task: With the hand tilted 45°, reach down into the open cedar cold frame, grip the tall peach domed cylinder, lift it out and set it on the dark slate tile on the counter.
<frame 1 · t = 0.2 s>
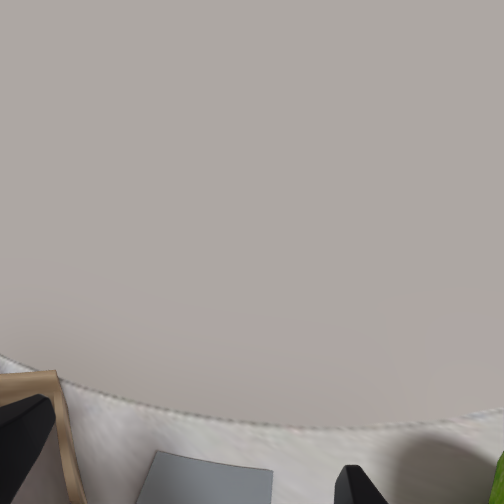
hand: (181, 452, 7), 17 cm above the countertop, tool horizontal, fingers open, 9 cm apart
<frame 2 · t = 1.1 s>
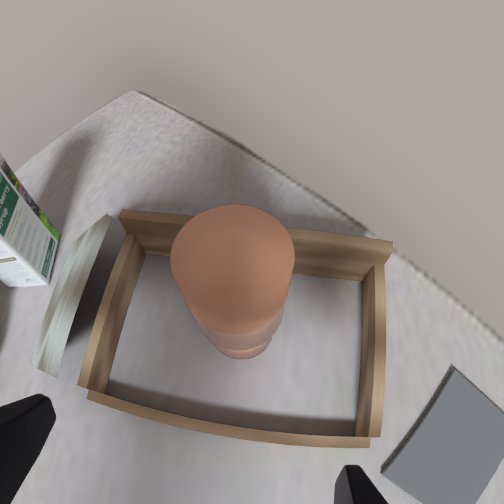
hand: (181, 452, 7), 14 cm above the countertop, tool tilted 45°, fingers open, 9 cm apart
cold frame: (238, 341, 23), on the countertop
slate tile: (458, 451, 17), on the countertop
peach domed cylinder: (241, 329, 23), resting in cold frame
syrup box: (34, 262, 26), on the countertop
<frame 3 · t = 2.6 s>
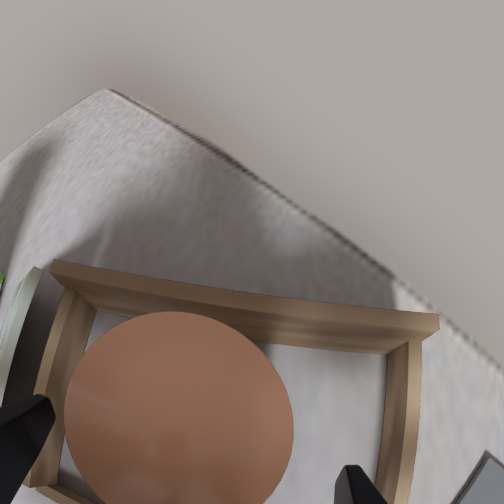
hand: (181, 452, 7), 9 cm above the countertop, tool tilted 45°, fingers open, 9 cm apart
cold frame: (215, 441, 15), on the countertop
peach domed cylinder: (219, 425, 15), resting in cold frame
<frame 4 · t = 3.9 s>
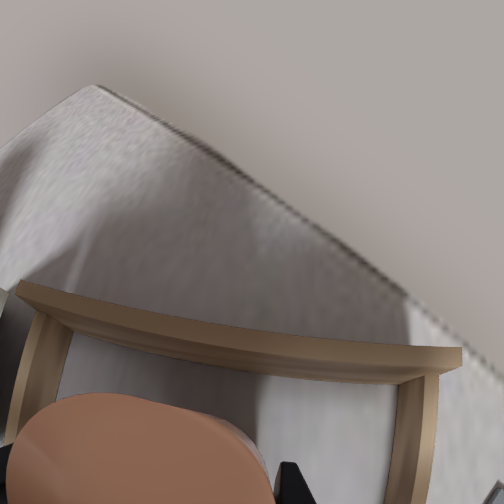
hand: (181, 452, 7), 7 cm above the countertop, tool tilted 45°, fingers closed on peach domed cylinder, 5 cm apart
cold frame: (204, 482, 12), on the countertop
peach domed cylinder: (208, 464, 13), resting in cold frame, touching gripper
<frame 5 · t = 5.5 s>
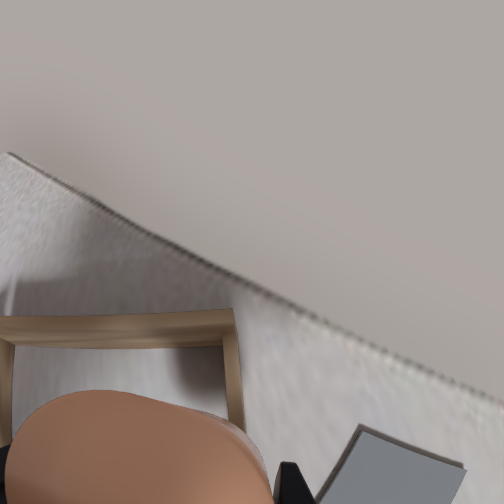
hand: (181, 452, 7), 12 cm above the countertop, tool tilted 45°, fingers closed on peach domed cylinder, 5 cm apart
cold frame: (103, 431, 18), on the countertop
peach domed cylinder: (207, 464, 13), point 5 cm above the countertop, touching gripper
when the fingers open (8 cm above the countertop, at t = 7.5 s): peach domed cylinder stays where it is, resting on slate tile.
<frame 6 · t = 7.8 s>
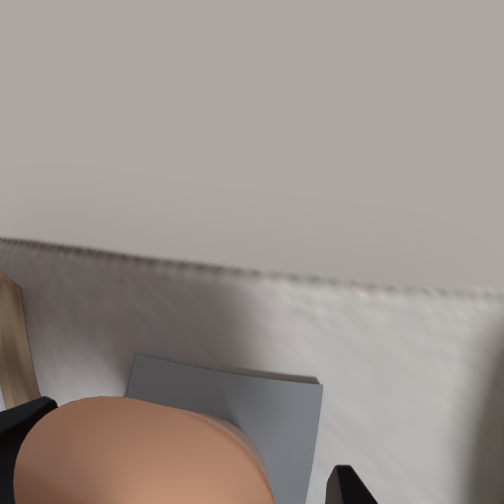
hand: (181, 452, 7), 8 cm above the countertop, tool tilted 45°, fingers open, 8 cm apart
slate tile: (210, 462, 13), on the countertop
peach domed cylinder: (209, 464, 13), resting on slate tile
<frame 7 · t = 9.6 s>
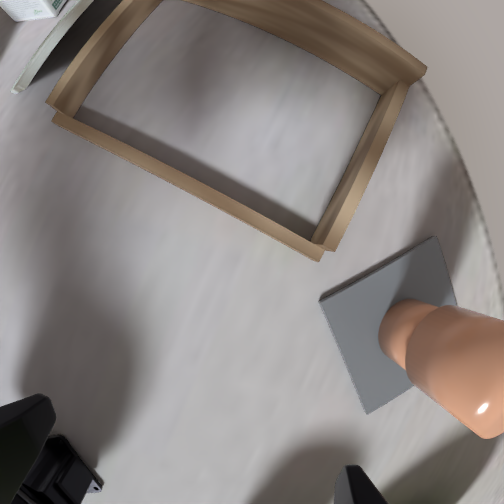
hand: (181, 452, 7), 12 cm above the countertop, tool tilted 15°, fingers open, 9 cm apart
cold frame: (228, 94, 19), on the countertop
slate tile: (402, 327, 21), on the countertop
peach domed cylinder: (405, 330, 20), point 1 cm above the countertop, touching slate tile
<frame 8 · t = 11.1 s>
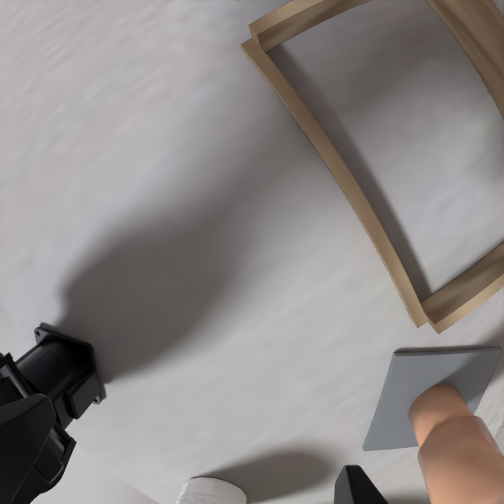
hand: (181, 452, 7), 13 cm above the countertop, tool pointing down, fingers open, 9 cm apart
cold frame: (431, 131, 16), on the countertop
slate tile: (432, 402, 21), on the countertop
peach domed cylinder: (434, 406, 20), point 1 cm above the countertop, touching slate tile
white cup: (215, 491, 26), on the countertop
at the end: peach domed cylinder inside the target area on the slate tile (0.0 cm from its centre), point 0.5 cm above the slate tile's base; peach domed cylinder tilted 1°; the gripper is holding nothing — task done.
